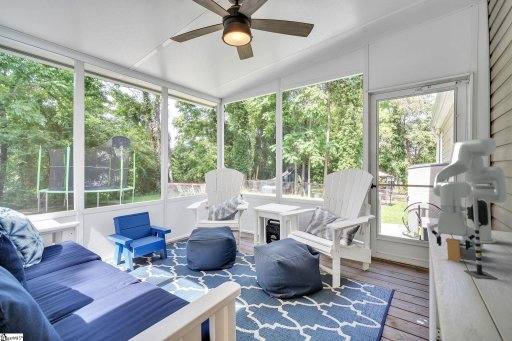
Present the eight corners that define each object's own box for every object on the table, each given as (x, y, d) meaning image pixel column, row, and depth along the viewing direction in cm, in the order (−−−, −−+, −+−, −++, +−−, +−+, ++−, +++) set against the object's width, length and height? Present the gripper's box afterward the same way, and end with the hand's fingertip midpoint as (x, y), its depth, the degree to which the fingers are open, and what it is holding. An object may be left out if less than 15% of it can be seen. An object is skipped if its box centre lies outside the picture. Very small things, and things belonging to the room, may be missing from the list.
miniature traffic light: (499, 279, 88) (494, 197, 89) (475, 278, 90) (470, 197, 91) (484, 271, 96) (479, 195, 97) (462, 270, 97) (458, 196, 98)
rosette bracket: (456, 244, 132) (455, 226, 132) (484, 248, 124) (483, 228, 124) (449, 256, 114) (447, 234, 115) (480, 261, 106) (479, 238, 107)
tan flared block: (448, 257, 112) (447, 237, 112) (461, 260, 109) (460, 239, 109) (446, 259, 110) (445, 239, 110) (460, 262, 106) (459, 241, 107)
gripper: (477, 210, 106) (479, 249, 105) (429, 207, 119) (431, 242, 118) (475, 211, 101) (478, 253, 100) (426, 208, 114) (428, 245, 113)
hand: (453, 247), depth 109 cm, fingers open, 9 cm apart
